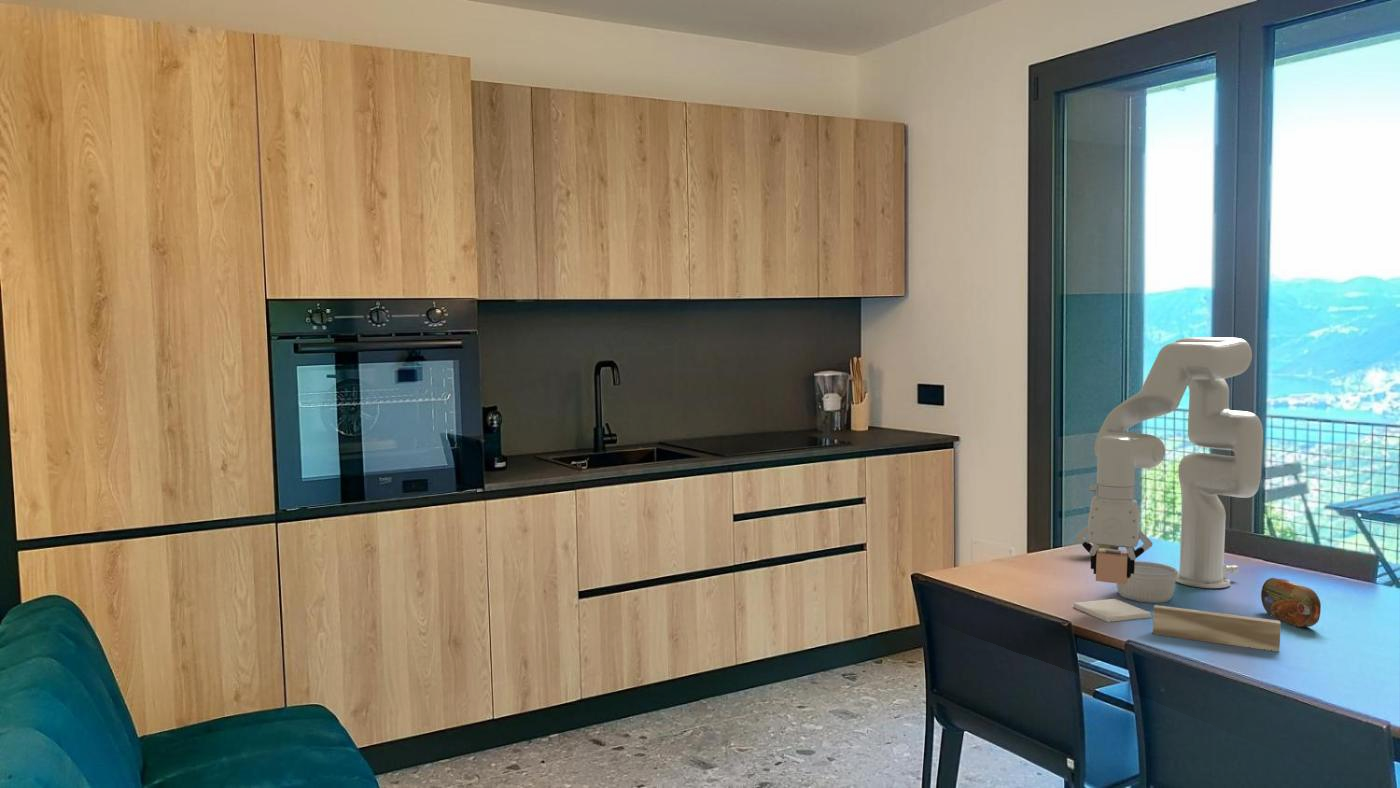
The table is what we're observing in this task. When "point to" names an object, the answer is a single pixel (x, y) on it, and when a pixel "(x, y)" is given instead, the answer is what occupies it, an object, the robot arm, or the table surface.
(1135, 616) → the display tile
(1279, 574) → the table surface
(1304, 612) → the tin
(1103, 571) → the marked cube
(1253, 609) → the table surface
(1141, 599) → the ramekin
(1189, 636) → the wooden plank
